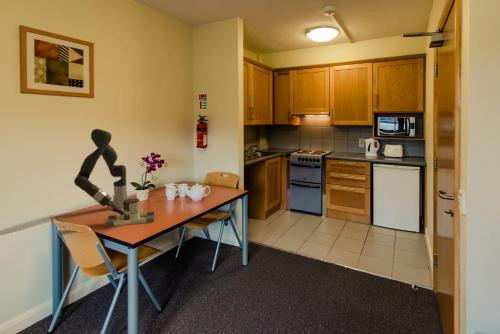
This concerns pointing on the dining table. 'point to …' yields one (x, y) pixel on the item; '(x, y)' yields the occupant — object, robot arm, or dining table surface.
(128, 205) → the coffee can
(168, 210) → the dining table surface
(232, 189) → the dining table surface
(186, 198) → the dining table surface
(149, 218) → the push track
